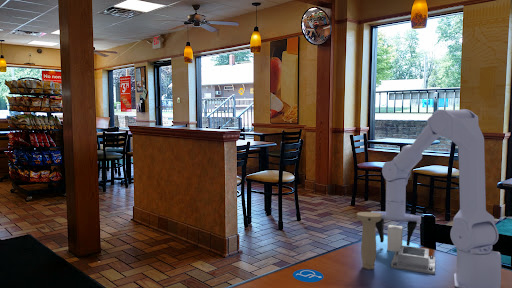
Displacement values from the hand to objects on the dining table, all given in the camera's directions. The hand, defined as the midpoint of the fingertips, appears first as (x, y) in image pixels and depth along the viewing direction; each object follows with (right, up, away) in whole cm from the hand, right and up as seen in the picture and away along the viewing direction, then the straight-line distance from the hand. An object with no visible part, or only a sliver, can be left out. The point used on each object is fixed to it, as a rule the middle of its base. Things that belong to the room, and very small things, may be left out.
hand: (394, 243), depth 119 cm
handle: (-12, -3, -14) cm, 19 cm away
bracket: (+1, -3, -11) cm, 12 cm away
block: (0, -2, 0) cm, 2 cm away
